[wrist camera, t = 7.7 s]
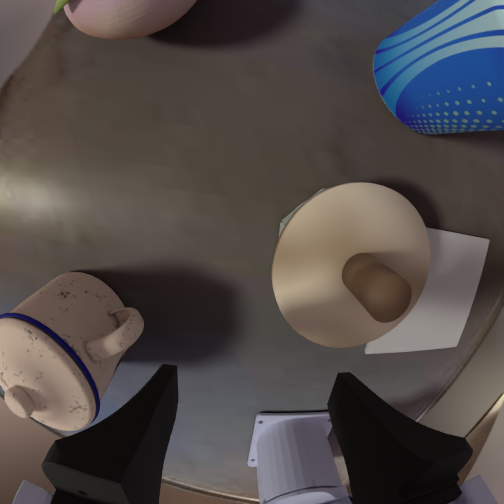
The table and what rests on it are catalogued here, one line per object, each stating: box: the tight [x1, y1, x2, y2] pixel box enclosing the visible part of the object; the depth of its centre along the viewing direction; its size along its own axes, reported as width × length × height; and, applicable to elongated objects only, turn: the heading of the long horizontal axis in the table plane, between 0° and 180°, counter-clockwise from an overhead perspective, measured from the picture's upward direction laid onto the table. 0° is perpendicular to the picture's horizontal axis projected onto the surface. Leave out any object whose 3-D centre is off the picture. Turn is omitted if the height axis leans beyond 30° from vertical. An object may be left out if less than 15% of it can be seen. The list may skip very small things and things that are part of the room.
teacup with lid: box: [0, 272, 144, 431], centre depth 16 cm, size 12×9×12 cm
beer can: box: [373, 0, 504, 135], centre depth 10 cm, size 8×8×16 cm
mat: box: [364, 227, 490, 354], centre depth 23 cm, size 12×12×1 cm
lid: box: [272, 182, 430, 348], centre depth 15 cm, size 10×10×5 cm
